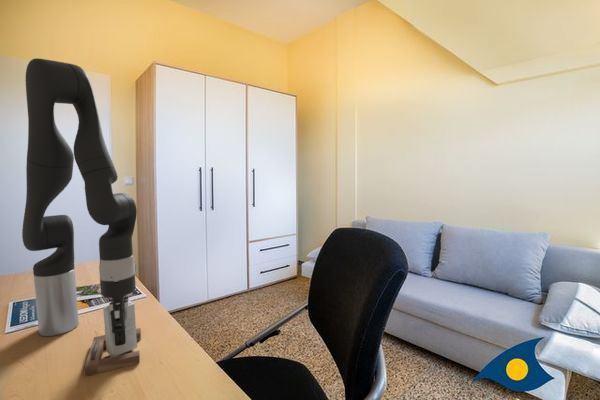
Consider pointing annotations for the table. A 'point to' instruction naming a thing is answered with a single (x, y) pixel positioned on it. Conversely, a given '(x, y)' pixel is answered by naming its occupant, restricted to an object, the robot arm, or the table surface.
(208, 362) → the table surface
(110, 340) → the skincare box
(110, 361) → the wooden u-shaped block
